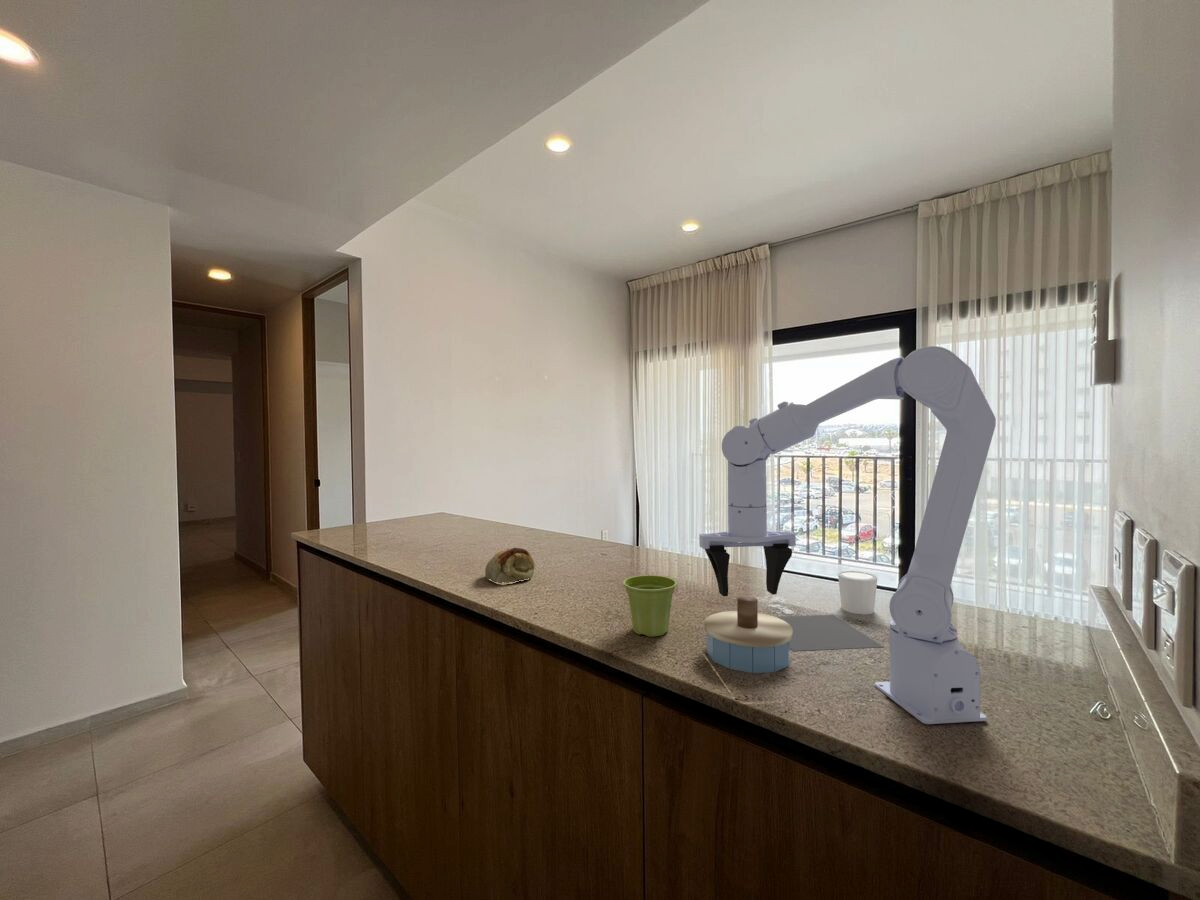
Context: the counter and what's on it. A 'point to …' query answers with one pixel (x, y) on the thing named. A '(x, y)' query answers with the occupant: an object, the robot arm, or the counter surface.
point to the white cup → (857, 592)
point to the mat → (825, 634)
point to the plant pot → (650, 603)
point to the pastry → (510, 566)
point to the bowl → (748, 656)
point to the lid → (748, 626)
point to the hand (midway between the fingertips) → (747, 593)
